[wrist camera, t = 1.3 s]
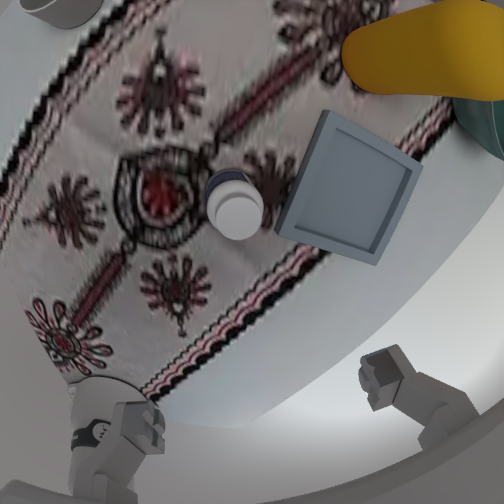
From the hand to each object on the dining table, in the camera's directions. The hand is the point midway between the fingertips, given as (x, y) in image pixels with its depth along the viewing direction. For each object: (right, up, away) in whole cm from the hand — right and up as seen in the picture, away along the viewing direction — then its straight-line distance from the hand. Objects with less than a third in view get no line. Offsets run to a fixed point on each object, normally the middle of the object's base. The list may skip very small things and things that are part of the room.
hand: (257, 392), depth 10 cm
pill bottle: (-3, +12, +24) cm, 27 cm away
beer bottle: (+15, +29, +18) cm, 37 cm away
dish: (+13, +13, +26) cm, 32 cm away
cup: (-22, +35, +9) cm, 42 cm away
